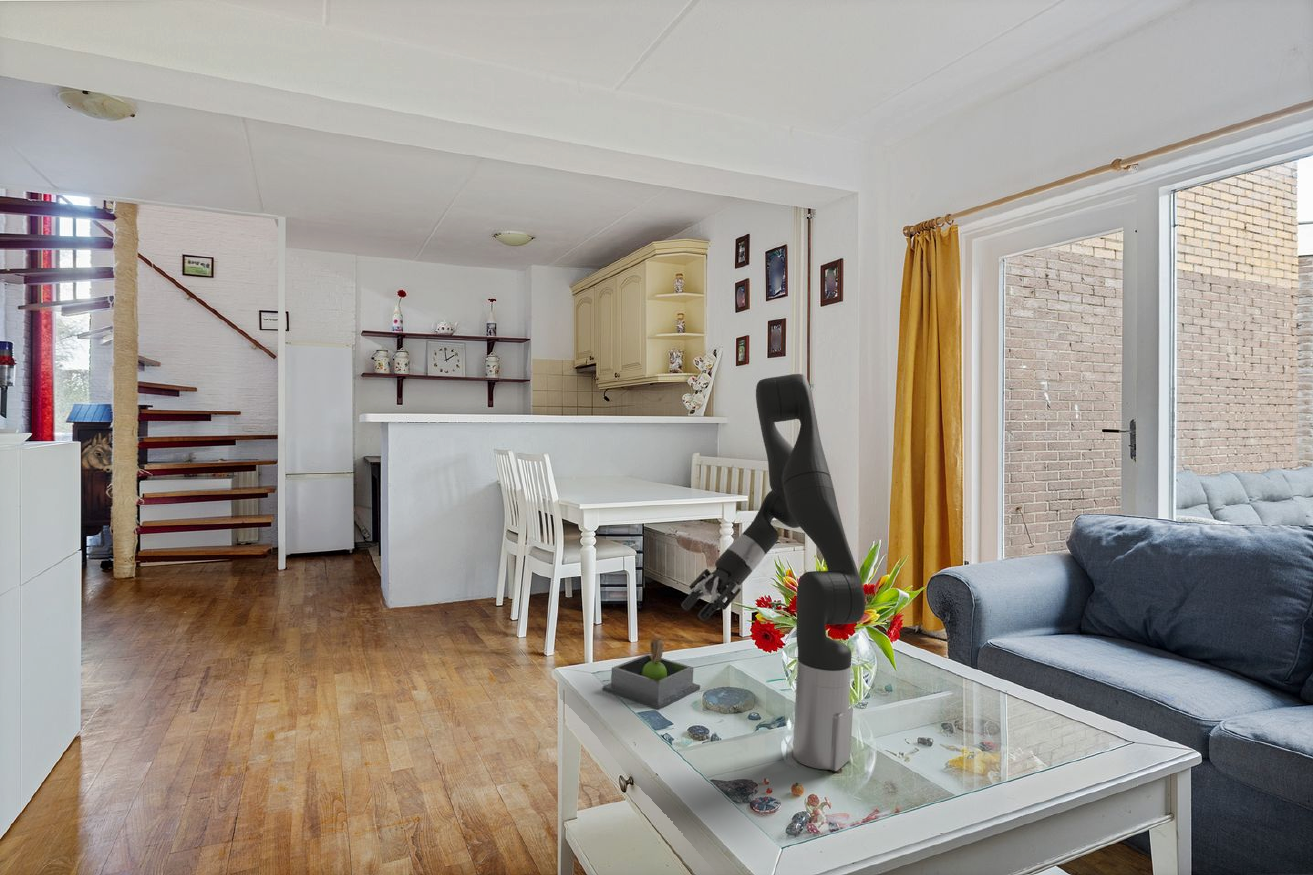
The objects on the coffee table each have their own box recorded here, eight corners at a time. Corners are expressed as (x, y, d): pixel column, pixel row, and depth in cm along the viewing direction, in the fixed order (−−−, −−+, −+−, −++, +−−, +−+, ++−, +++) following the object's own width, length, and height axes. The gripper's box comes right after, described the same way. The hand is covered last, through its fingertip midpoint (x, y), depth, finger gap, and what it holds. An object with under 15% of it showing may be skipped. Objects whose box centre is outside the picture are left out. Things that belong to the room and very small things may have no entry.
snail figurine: (647, 693, 155) (649, 637, 154) (637, 682, 161) (640, 628, 160) (671, 691, 157) (674, 635, 156) (661, 680, 163) (663, 626, 162)
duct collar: (700, 688, 161) (701, 667, 161) (659, 709, 149) (660, 685, 149) (645, 671, 170) (646, 651, 170) (602, 689, 158) (603, 667, 158)
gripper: (715, 542, 172) (668, 594, 168) (746, 554, 159) (696, 610, 154) (734, 564, 174) (688, 615, 170) (766, 577, 161) (717, 633, 157)
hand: (692, 613), depth 162 cm, fingers open, 8 cm apart
